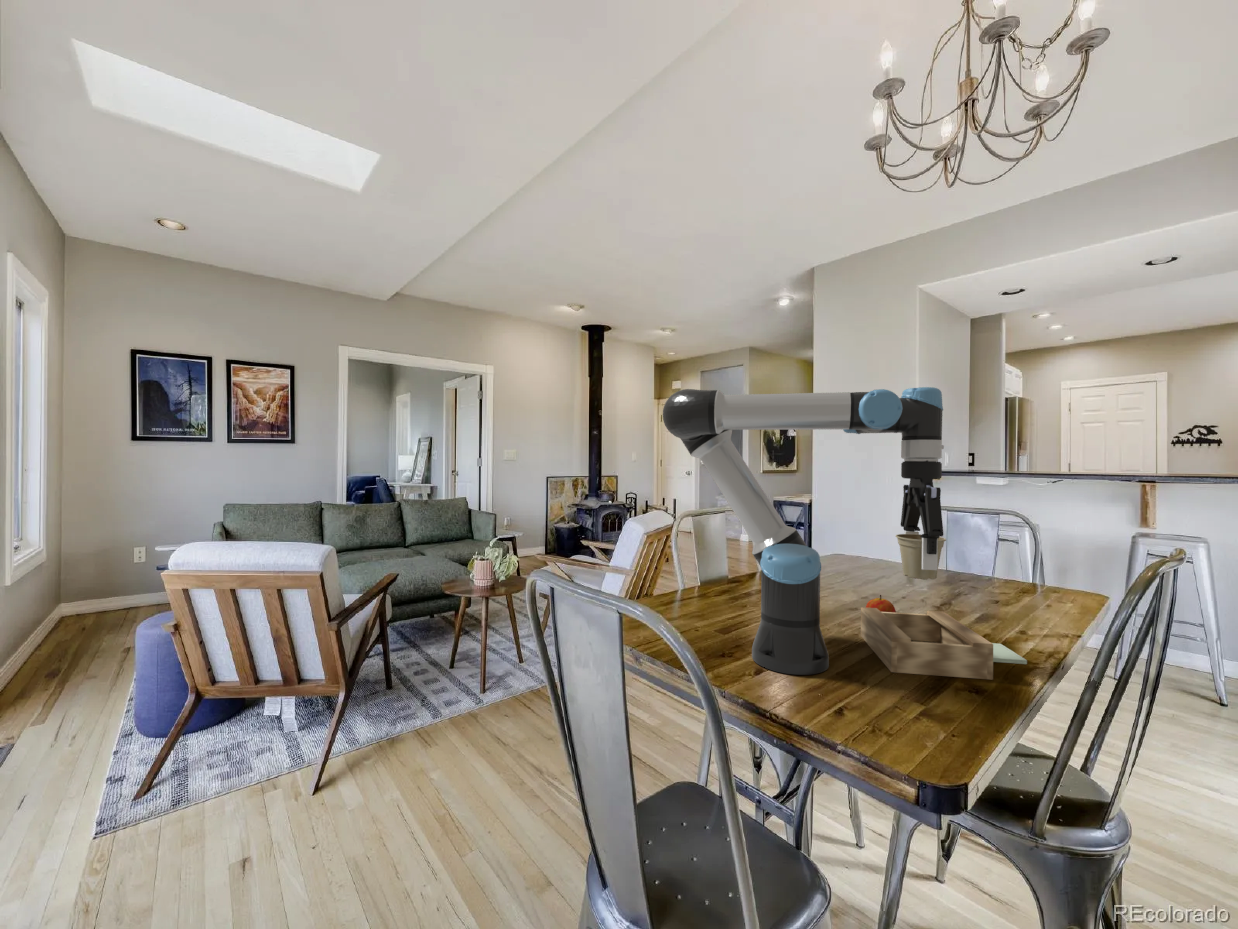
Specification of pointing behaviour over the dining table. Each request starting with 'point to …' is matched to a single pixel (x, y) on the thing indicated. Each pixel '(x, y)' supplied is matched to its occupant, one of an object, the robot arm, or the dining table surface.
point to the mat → (1006, 655)
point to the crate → (927, 644)
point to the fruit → (881, 605)
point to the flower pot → (916, 556)
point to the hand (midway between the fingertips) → (920, 564)
